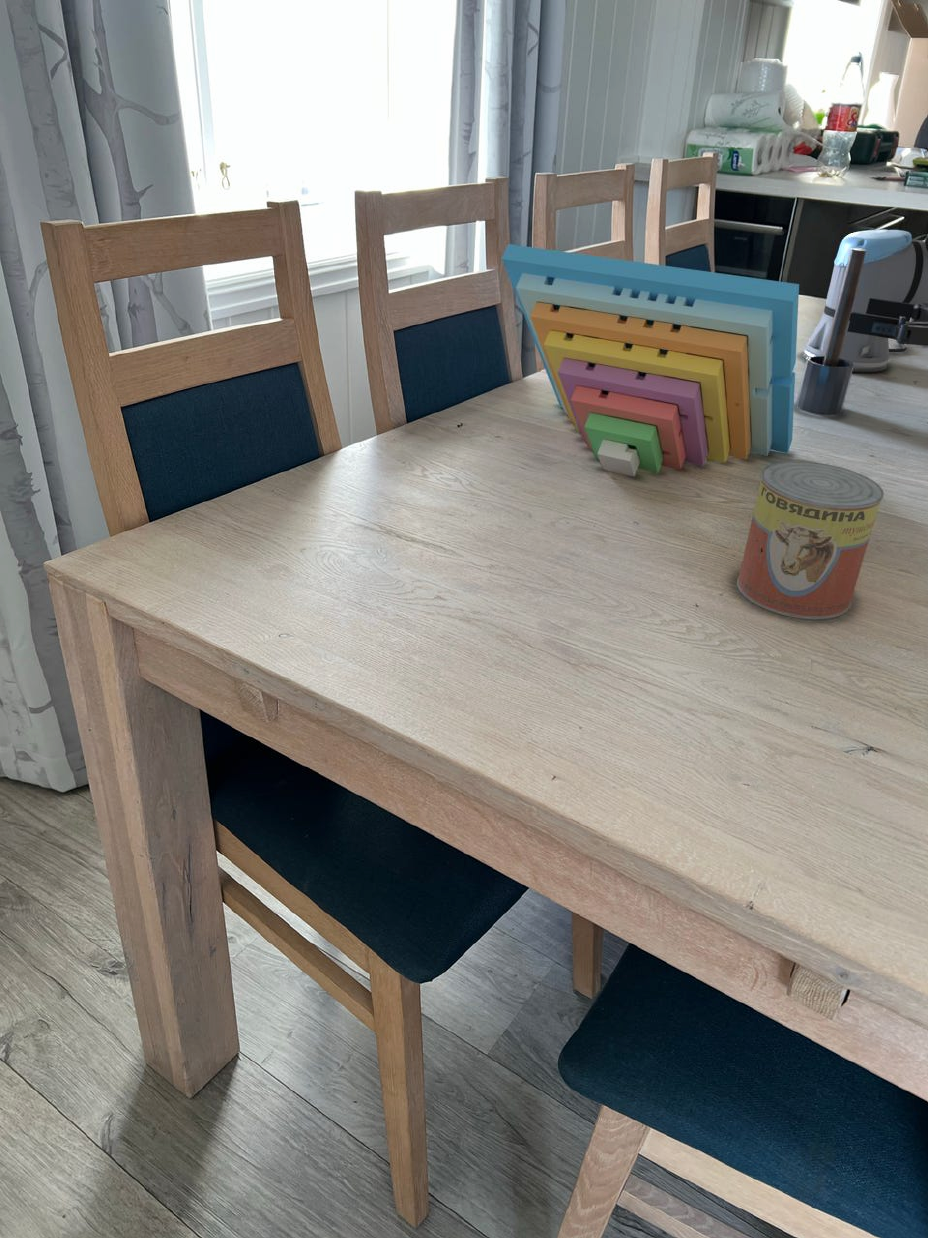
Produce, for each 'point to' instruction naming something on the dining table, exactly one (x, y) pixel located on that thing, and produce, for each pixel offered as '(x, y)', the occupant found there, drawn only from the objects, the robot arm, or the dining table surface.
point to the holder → (824, 386)
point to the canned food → (808, 539)
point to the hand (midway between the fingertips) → (858, 313)
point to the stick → (844, 306)
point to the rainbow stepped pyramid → (661, 356)
